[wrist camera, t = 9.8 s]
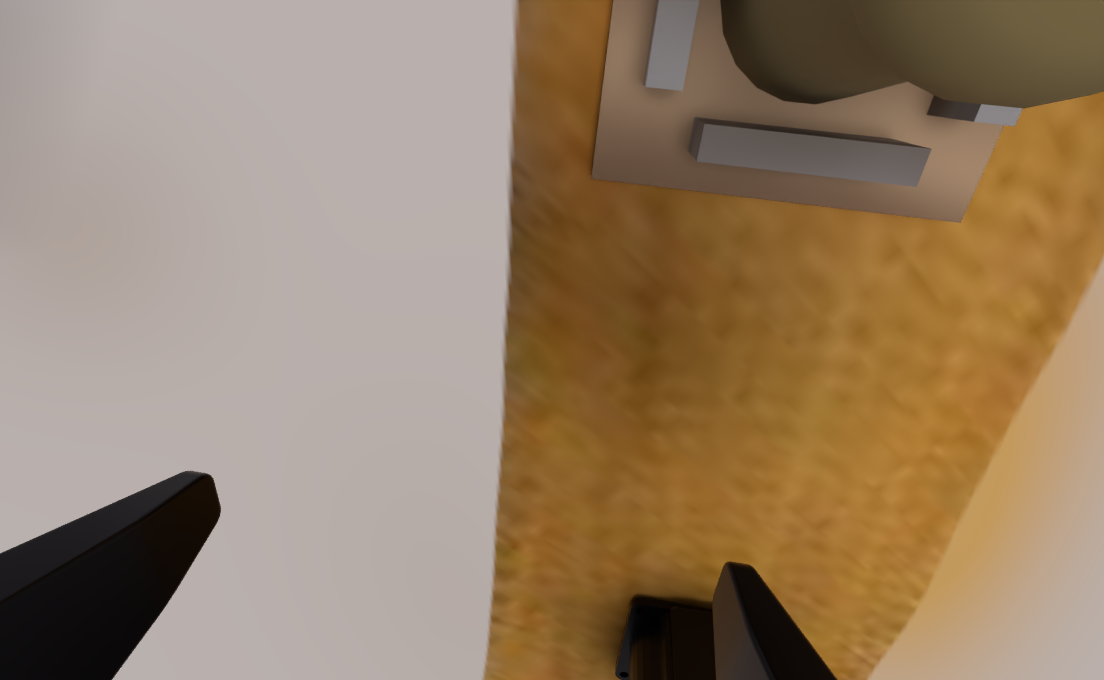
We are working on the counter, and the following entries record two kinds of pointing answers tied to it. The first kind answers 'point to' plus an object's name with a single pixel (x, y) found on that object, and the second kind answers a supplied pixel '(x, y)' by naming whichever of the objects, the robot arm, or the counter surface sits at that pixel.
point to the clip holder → (776, 126)
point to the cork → (920, 48)
